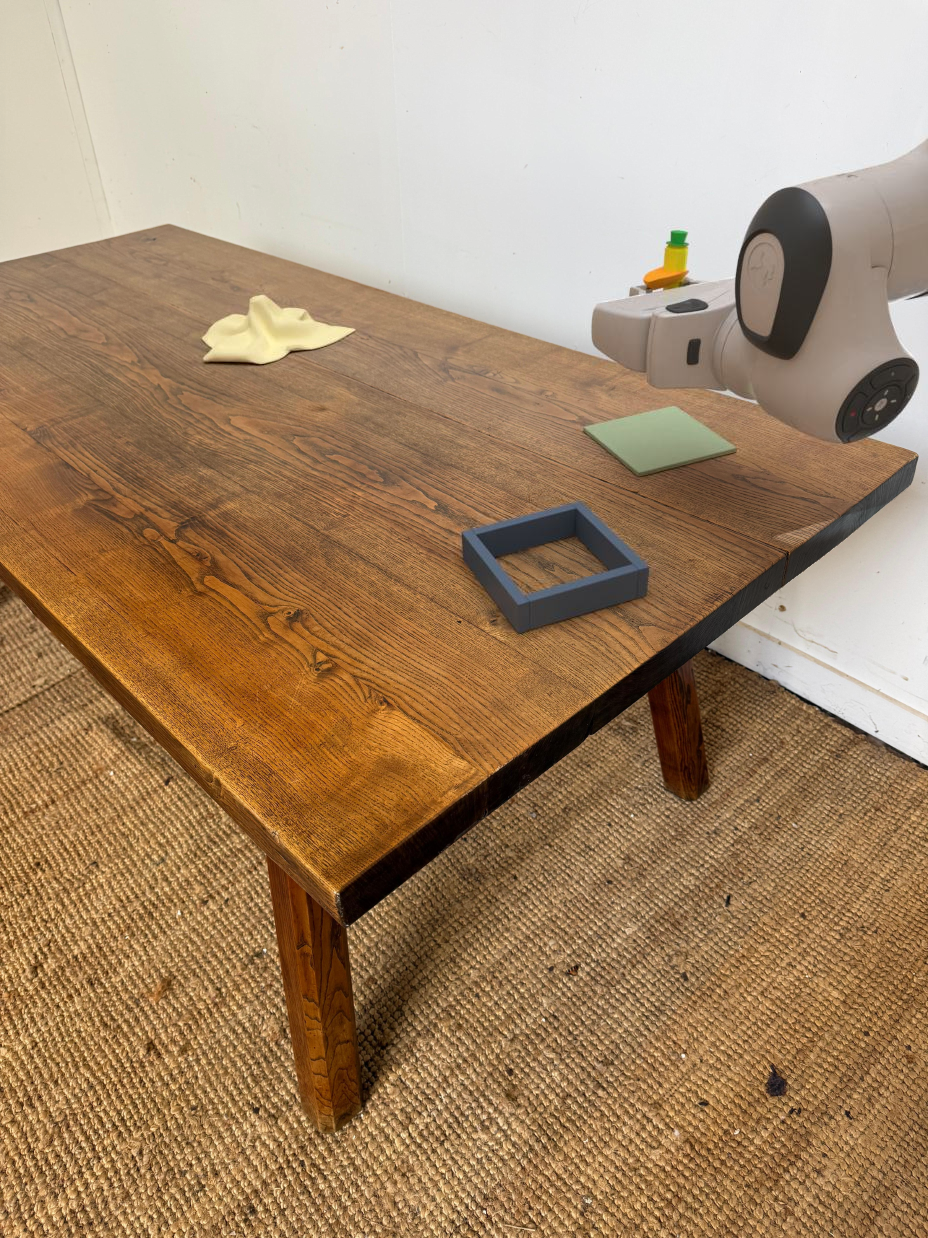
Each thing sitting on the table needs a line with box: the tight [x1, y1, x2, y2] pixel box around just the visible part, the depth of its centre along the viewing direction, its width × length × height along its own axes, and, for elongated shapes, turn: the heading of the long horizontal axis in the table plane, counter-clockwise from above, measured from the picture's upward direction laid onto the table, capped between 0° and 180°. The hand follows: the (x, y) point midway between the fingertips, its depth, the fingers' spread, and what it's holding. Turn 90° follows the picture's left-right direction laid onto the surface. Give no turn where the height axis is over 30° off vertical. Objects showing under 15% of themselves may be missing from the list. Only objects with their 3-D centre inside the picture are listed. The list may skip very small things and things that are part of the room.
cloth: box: [201, 294, 356, 365], centre depth 126 cm, size 22×19×6 cm
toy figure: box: [642, 229, 690, 291], centre depth 85 cm, size 7×4×12 cm, turn 131°
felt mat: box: [582, 405, 738, 477], centre depth 96 cm, size 12×12×1 cm
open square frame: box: [460, 500, 650, 635], centre depth 76 cm, size 12×12×3 cm
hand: (656, 289), depth 85 cm, fingers closed on toy figure, 3 cm apart
